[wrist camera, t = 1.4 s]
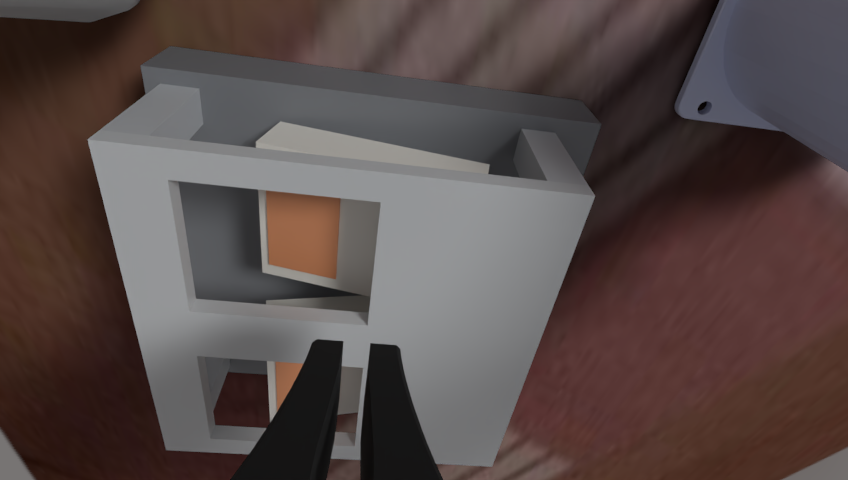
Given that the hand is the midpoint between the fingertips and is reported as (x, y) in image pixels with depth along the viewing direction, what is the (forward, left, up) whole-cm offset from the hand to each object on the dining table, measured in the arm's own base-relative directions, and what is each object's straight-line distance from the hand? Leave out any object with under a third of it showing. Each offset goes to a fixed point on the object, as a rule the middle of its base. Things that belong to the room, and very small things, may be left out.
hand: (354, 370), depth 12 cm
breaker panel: (0, +3, -10) cm, 11 cm away
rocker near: (0, 0, -6) cm, 6 cm away
